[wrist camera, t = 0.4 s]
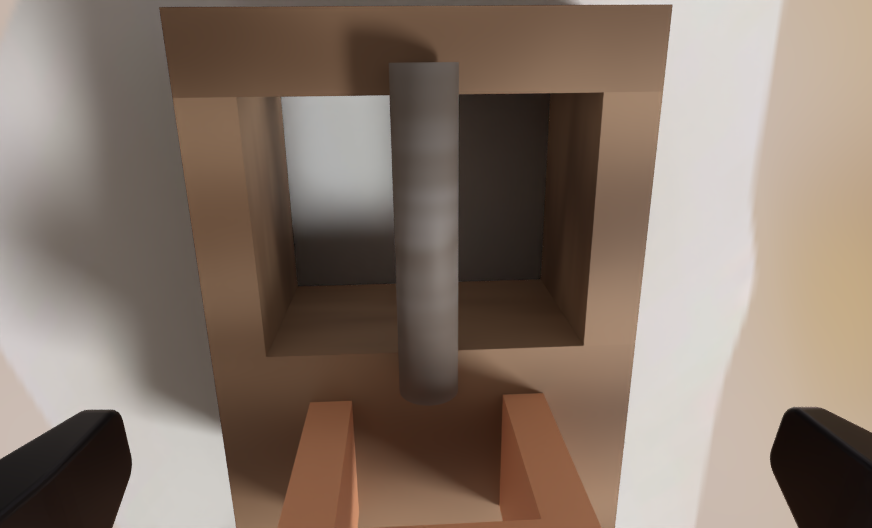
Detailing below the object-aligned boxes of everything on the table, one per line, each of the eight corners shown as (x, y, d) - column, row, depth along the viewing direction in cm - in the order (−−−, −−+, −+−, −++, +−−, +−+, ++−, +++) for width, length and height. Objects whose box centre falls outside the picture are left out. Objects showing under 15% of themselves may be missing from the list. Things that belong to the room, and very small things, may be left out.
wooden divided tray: (568, 436, 25) (631, 577, 18) (275, 449, 24) (226, 600, 17) (599, 19, 19) (704, -2, 13) (225, 21, 19) (129, 0, 12)
